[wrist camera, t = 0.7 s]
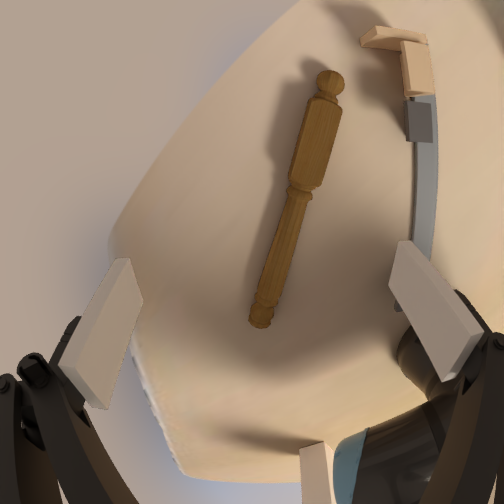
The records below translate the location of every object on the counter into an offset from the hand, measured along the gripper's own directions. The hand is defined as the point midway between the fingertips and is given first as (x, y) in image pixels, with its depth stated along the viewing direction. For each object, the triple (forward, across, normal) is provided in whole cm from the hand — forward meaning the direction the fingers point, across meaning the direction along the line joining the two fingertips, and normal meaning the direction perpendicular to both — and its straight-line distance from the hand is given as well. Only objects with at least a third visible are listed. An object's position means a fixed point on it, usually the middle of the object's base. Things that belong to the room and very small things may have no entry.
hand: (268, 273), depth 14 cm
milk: (+11, -11, +57) cm, 59 cm away
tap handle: (+18, -4, +4) cm, 19 cm away
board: (+17, -17, +1) cm, 24 cm away
